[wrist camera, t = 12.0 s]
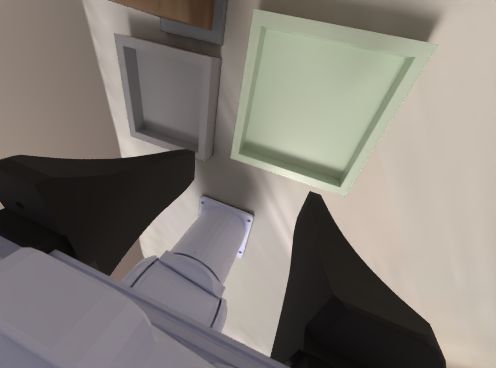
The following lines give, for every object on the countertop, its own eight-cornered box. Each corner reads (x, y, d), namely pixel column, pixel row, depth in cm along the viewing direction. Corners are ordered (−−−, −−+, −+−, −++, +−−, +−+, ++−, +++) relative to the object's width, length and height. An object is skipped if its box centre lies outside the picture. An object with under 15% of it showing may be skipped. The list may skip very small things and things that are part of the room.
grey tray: (212, 155, 23) (204, 161, 22) (143, 131, 25) (130, 136, 23) (221, 58, 18) (211, 57, 16) (131, 36, 19) (114, 33, 18)
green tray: (342, 186, 20) (344, 196, 18) (237, 151, 22) (230, 158, 20) (424, 47, 13) (438, 44, 12) (260, 15, 15) (253, 8, 13)
